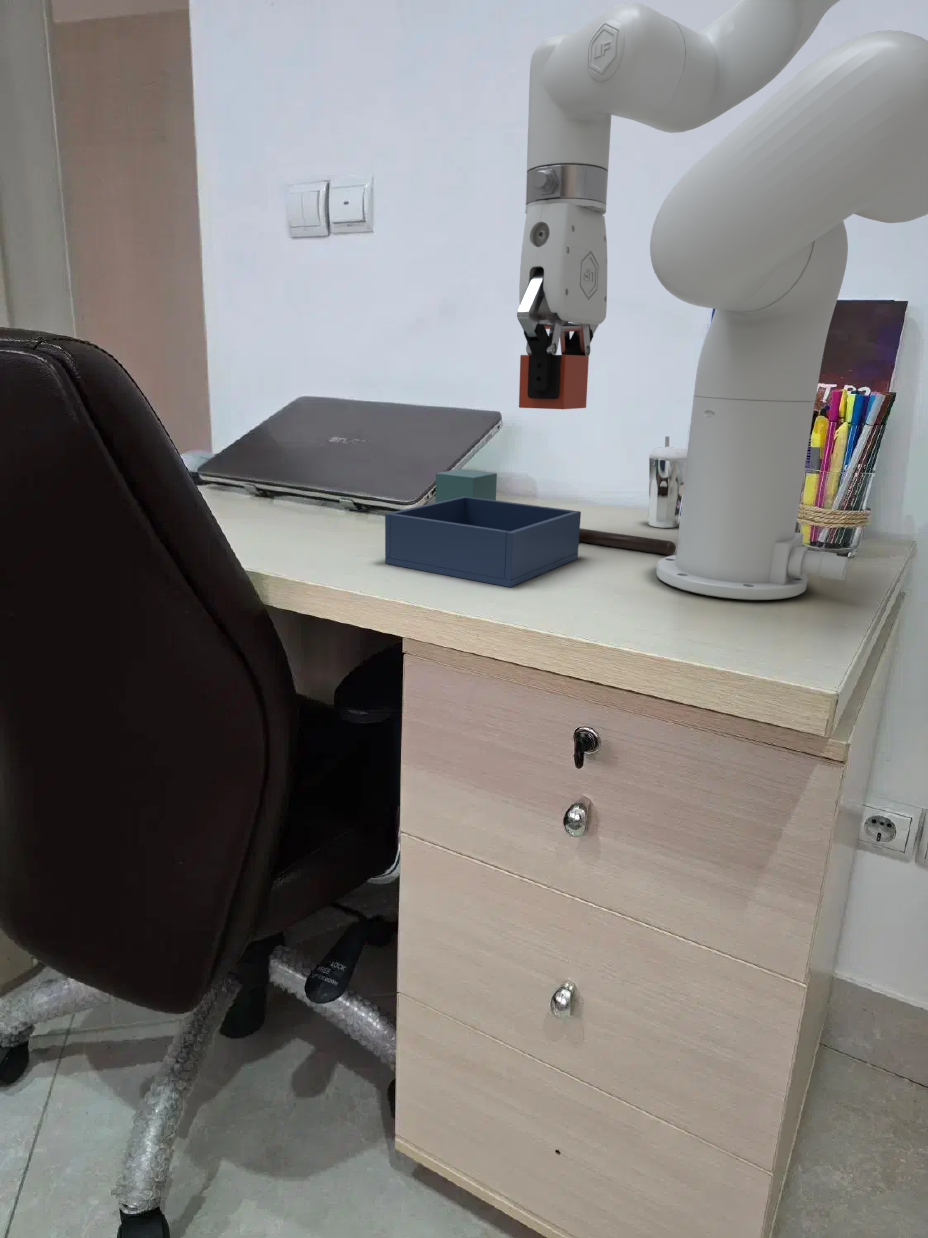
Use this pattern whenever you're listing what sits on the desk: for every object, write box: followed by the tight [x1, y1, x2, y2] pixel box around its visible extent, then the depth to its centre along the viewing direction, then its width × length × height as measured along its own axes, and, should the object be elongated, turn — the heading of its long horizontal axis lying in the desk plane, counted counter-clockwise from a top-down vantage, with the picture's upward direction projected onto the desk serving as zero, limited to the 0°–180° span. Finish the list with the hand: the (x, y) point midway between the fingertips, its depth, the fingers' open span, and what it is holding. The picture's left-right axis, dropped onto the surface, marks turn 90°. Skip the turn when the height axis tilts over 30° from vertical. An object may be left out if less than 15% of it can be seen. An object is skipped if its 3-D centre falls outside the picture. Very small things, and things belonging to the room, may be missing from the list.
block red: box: [518, 354, 590, 410], centre depth 82 cm, size 5×5×5 cm
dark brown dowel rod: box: [579, 527, 677, 556], centre depth 89 cm, size 28×4×1 cm, turn 57°
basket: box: [384, 496, 582, 588], centre depth 77 cm, size 13×13×5 cm
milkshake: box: [647, 436, 688, 529], centre depth 96 cm, size 5×5×10 cm
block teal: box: [434, 468, 498, 503], centre depth 94 cm, size 5×5×5 cm
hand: (557, 395), depth 82 cm, fingers closed on block red, 5 cm apart
